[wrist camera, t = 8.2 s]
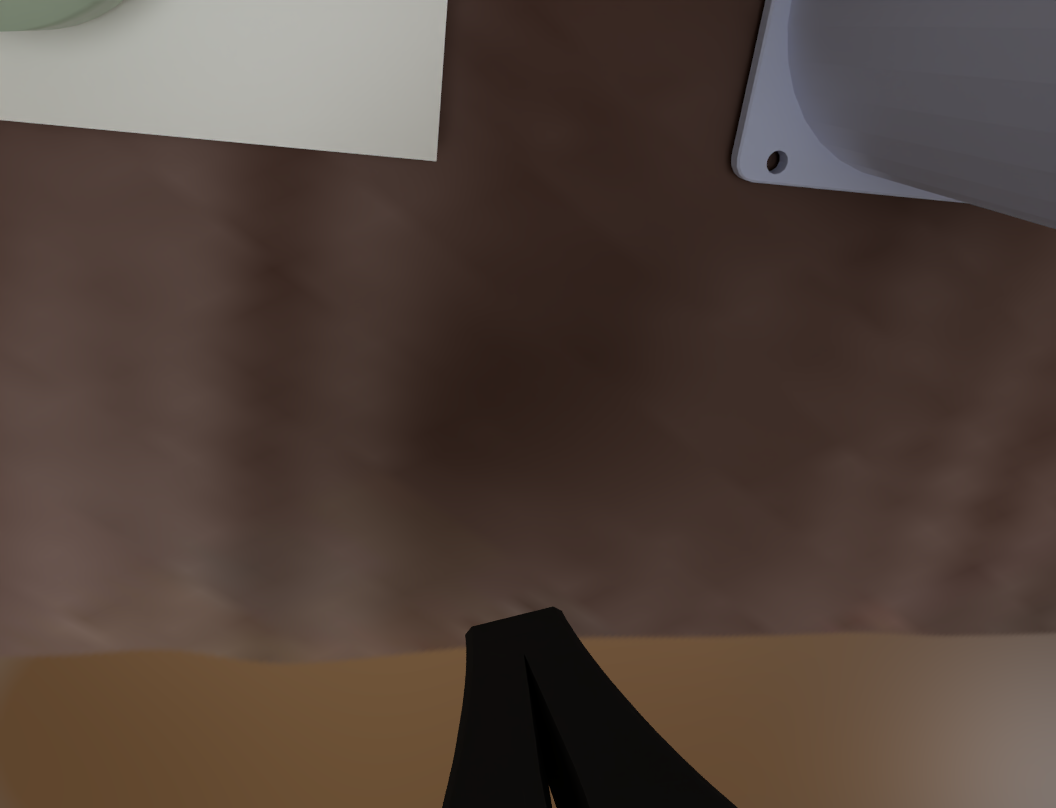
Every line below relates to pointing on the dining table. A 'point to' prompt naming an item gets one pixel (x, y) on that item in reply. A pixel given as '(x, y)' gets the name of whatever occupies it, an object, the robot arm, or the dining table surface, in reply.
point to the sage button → (50, 13)
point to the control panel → (241, 73)
